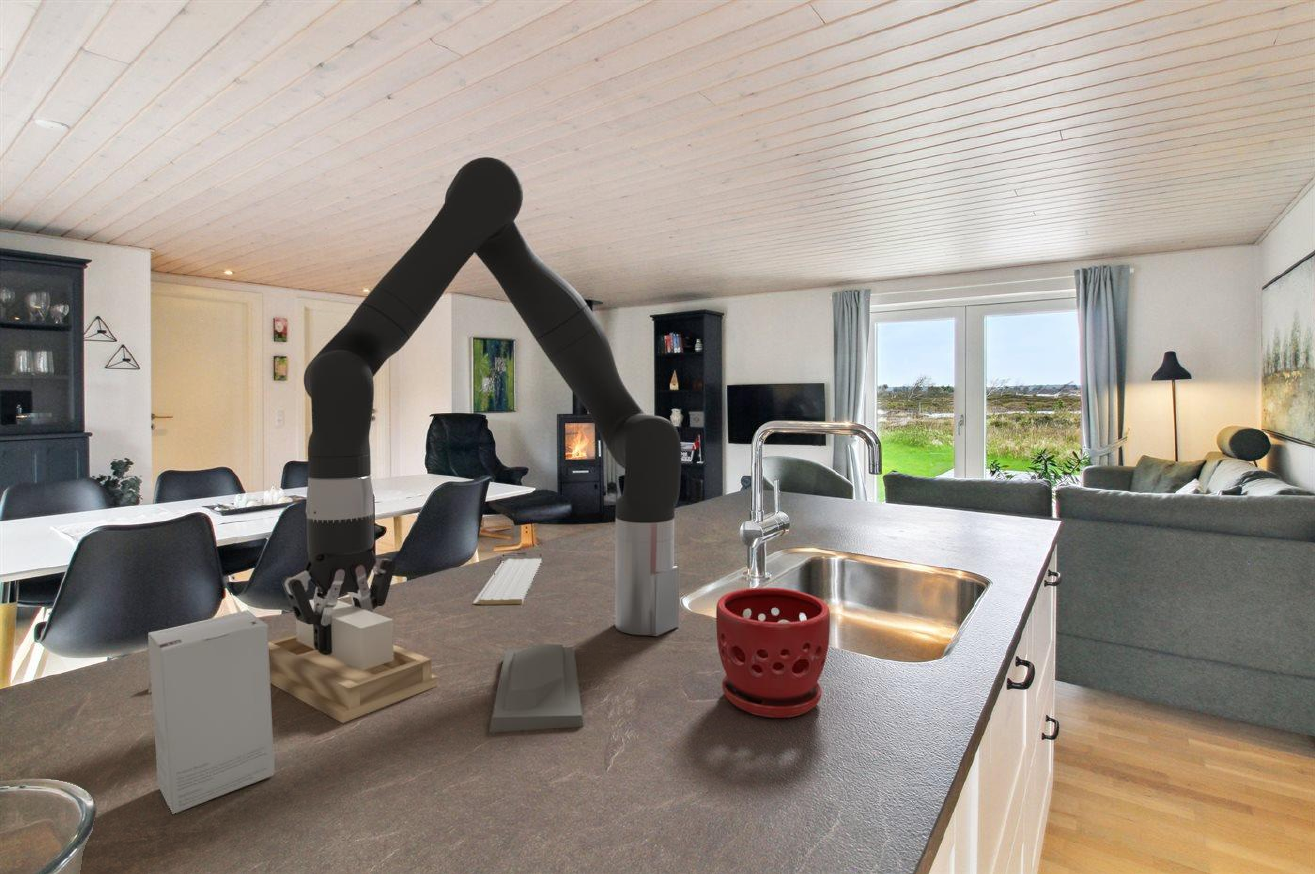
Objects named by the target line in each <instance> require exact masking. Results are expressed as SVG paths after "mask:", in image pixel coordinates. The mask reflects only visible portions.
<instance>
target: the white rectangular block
mask: <svg viewBox="0 0 1315 874" xmlns="http://www.w3.org/2000/svg"><path fill="white" fill-rule="evenodd" d="M309 602H310V604H311V606H312V609H313V608H314V601H313V599H309ZM295 622H296V623H295V624H296V629H295V630H296V634H297V641H298V642H300V643H302V644H304V645H307V646H309V647H311V648H313V649H315V647H314V635H313V624H311V625H309V624H306V623H304V622H301V621H299V620H297V619H296V618H295ZM329 624H330V625H331V634H332V653H331V654H328V655H329V656H331V657H333V658H335V659H337V660H339V661H342V662H344V663H346V664H348V665H350V666H353V667H355V668H357V669H359V670H361V671H363V670H366V669H369V668H372V667H375V666H378V665H381V664H384V663H387V662H390V661H393V660H394V648H393V645H394V619H393V618H389V617H387V616H384V615H382V614H378V613H376V612H373V611H372V612H370V611H367V610H364V609H362V608H359V607H356V606H353V604H350V603H347V602H344V601H342V600H339V599H338V601H337V605H336V606H335V607H334V609H333V613H332V618H331V622H330V623H329ZM315 650H316V649H315Z"/></svg>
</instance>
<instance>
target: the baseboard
mask: <svg viewBox="0 0 1315 874" xmlns="http://www.w3.org/2000/svg"><path fill="white" fill-rule="evenodd" d="M518 555H521V556H524V555H526V552H518ZM504 556H513V557H514V554H507V555H506V554H502V557H504ZM539 556H540V557H542V554H541V553H540V554H539ZM496 560H497V561H499V562H500V564H499V565H498V567H497V569H495V571H494V573H495V575H494V573H493V574H492V575H491V577H490V578H489V580H488V581H487V582H486V583H485V585H484V587H483V588H482V589H481V590H480V592H479V593H478V595H477V597H476V598H475V599H474V600H473V602H472V605H473V604H481V605H523V603H524V602H525V599H526V597H527V595H528V593H527V591H528V589H529V590H530V588H531V586H532V584H533V582H534V580H533V578H534V576H535V574H536V575H537V573H538V571H539V569H540V567H541V565H540V563H541V564H542V558H507V559H506V560H504V561H503V560H502V559H501V560H500V558H496ZM503 562H504V563H503ZM539 566H540V567H539ZM538 568H539V569H538ZM537 570H538V571H537ZM536 572H537V573H536ZM535 577H536V576H535ZM534 579H535V578H534ZM532 581H533V582H532ZM531 583H532V584H531ZM528 592H529V591H528ZM526 594H527V595H526ZM525 596H526V597H525ZM524 598H525V599H524Z"/></svg>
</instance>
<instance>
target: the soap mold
mask: <svg viewBox="0 0 1315 874" xmlns="http://www.w3.org/2000/svg"><path fill="white" fill-rule="evenodd" d="M577 668H578V667H577V660H576V655H575V651H574V647H573V646H567V647H565V646H564V645H563V644H560V643H559V644H557V643H556V644H554V643H537V644H534V645H531V646H529V647H526V648H516V649H515V648H514V649H511V648H510V649H505V653H504V657H503V660H502V665H501V669H500V673H499V674H500V675H499V679H498V684H497V685H498V686H497V689H496V690H497V691H496V695H495V700H494V705H493V709H492V715H491V719H490V724H489V730H488V733H500V732H501V733H502V732H515V731H516V732H517V731H528V730H529V731H531V730H532V731H533V730H543V729H545V730H547V729H557V728H559V729H560V728H561V729H562V728H581V727H584V721H583V710H582V703H581V702H582V701H581V696H580V695H581V694H580V692H581V691H580V686H579V677H578V669H577Z"/></svg>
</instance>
